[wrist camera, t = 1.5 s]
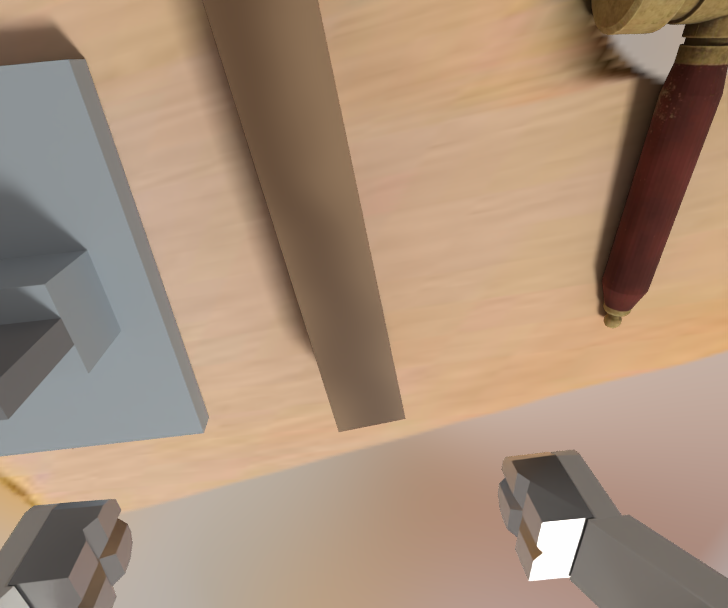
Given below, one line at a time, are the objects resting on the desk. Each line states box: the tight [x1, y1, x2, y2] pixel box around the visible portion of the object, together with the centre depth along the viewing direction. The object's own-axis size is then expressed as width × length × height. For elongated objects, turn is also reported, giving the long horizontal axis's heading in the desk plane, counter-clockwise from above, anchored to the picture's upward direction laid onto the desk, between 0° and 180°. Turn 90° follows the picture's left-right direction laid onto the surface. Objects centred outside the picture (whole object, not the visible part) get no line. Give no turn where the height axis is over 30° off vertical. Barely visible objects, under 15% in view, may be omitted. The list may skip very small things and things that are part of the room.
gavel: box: [591, 0, 728, 328], centre depth 23 cm, size 21×5×10 cm
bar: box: [202, 0, 405, 432], centre depth 23 cm, size 4×22×5 cm, turn 11°
